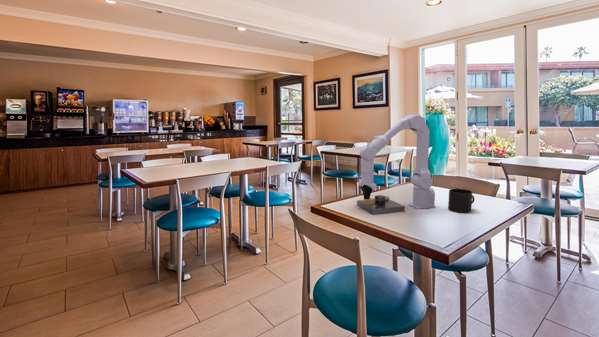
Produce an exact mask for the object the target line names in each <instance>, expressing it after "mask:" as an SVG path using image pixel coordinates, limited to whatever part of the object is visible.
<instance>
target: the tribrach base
mask: <svg viewBox="0 0 599 337" xmlns="http://www.w3.org/2000/svg"><path fill="white" fill-rule="evenodd" d="M356 206H357V207H359V208H361V210H364V211H365V212H367V213H369V214H370V215H383V214H393V213H402V212H405V211H406V210H405V205H403V204H401V203H398V202H396V201H394V200H391V199H390V196H386V202H385V204H376V203H364V199H360V200H356Z"/></svg>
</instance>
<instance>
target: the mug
mask: <svg viewBox="0 0 599 337" xmlns="http://www.w3.org/2000/svg"><path fill="white" fill-rule="evenodd" d="M474 202H475V196H474V195H473V191H472V190H469V189H465V188H451V189H449V190H448V210H449V211H451V212H453V213H459V214H461V213H462V214H467V213H471V212H472V204H474Z"/></svg>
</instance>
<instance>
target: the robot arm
mask: <svg viewBox="0 0 599 337" xmlns="http://www.w3.org/2000/svg"><path fill="white" fill-rule="evenodd" d="M404 130H411V131H412V132H413V133H414V134H416V151H415V152H416V153H415V168H414V170H413V171H412V172H413V174H412V175H411V179H410V180H411V183H412V184H413V186H412V203H408V206H411V207H413V208H416V209H418V210H420V209H423V210H424V209H430V208H436V206H435V200H436V192H435V190H434V188H432V186H433V179H432V177H431V176H432V174H431V172H430V170H429V154H430V151H429V149H430V129H429V127H428V124H427V123H426V118H425V117H424V116H422V115H420V114H418V113H417V114H406V115H404V116H403V117H402V118H400V119H399V120H398V121H397V122H396V123H395V124H393V126H391V127H390V128H389V130H387V131H386V132H385V133H384V134H383V135H381V134H380V135H376V136H374V139H373V140H371V141H370V142H369V143H367V144H366V146H363V147H361V149H360V152H359V156H360V159H361V162H360V178H359V179H358V184H359V185H361V186H360V189H361V192H362V195H363V200H364V199H370V198H371V194H372V192H373V190H376V189H378V188H377V187H378V186H377V184H376V183H375V181H374V177H375V176H374V172H375V170H374V169H375V168H374V166H375V162H374V159H375V158H376V155H377V154H378V153H380V151H382V150H383V149H385V147H387V145H388V143H389V141H390V140H391V139H392V138H393V137H395V136H396V135H397V134H398V133H400V132H401V131H404Z"/></svg>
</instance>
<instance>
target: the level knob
mask: <svg viewBox="0 0 599 337" xmlns="http://www.w3.org/2000/svg"><path fill="white" fill-rule="evenodd" d="M363 200H364V203H376V204H385V202H386V196H385V195H380V194H377V195H374V198H371V197H370V199H364V198H363Z"/></svg>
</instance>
